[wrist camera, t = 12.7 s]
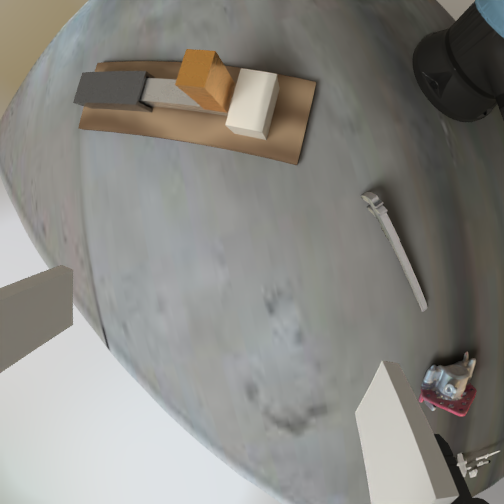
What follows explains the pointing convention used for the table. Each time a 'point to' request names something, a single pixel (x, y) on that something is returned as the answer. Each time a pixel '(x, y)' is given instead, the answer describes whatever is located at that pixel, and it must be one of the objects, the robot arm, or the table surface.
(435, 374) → the brake caliper
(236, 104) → the socket block
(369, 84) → the table surface
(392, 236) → the caliper
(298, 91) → the base board
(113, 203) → the table surface
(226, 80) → the stacked block assembly
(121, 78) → the outer sleeve
